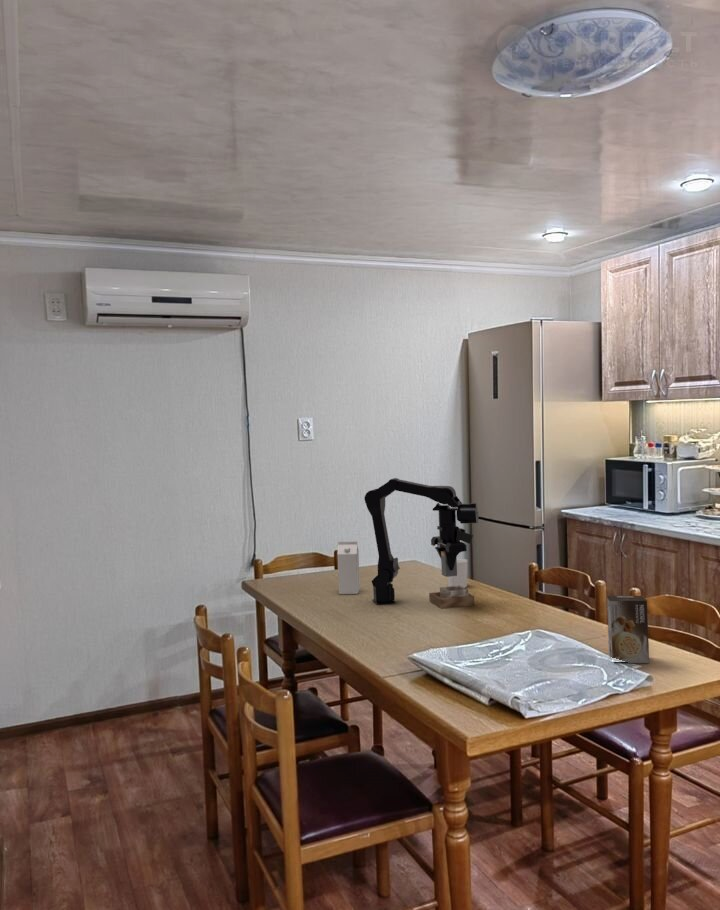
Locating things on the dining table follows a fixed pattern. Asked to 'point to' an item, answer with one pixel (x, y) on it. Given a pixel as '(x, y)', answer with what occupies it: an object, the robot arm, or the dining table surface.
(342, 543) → the milk carton
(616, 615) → the coffee box
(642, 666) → the dining table surface
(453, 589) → the walled box
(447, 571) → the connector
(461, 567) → the white cup
